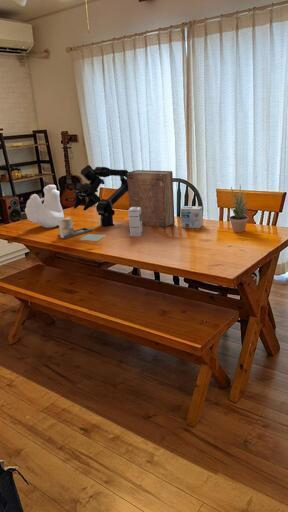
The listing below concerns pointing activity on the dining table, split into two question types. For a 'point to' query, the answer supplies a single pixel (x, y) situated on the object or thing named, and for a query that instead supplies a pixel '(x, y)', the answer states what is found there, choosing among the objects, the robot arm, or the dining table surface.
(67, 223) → the beige rectangular block
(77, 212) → the dining table surface
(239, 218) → the potted plant
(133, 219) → the syrup box
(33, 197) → the decorative rooster
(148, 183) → the book
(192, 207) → the light bulb box
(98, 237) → the mat
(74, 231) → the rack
